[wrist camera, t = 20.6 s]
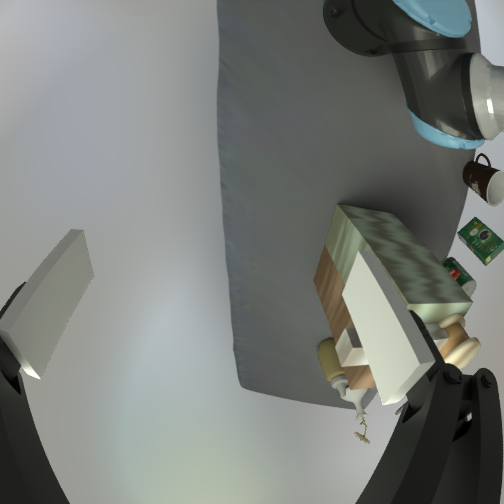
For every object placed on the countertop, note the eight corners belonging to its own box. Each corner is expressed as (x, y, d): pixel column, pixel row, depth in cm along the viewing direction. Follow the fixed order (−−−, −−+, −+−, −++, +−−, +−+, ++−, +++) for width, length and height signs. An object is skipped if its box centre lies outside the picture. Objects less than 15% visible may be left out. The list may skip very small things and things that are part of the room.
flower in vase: (338, 386, 92) (353, 443, 71) (366, 377, 91) (385, 433, 69) (340, 399, 99) (353, 451, 78) (366, 390, 97) (382, 441, 76)
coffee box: (458, 239, 59) (486, 267, 48) (456, 232, 58) (485, 260, 47) (476, 223, 57) (505, 248, 46) (474, 215, 55) (505, 240, 44)
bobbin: (469, 311, 31) (488, 339, 26) (446, 343, 35) (462, 371, 30) (350, 316, 28) (368, 360, 23) (330, 355, 32) (341, 395, 27)
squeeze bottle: (324, 333, 73) (340, 387, 58) (346, 337, 75) (364, 387, 60) (310, 350, 77) (322, 402, 62) (332, 353, 79) (346, 402, 64)
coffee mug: (479, 187, 51) (504, 204, 42) (458, 191, 51) (484, 209, 43) (482, 144, 45) (510, 157, 36) (460, 145, 45) (490, 158, 37)
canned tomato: (452, 275, 66) (471, 299, 57) (433, 282, 67) (452, 307, 57) (458, 253, 62) (479, 277, 52) (438, 260, 62) (459, 285, 53)
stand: (313, 280, 63) (350, 390, 38) (336, 203, 53) (408, 303, 28) (365, 283, 64) (414, 379, 40) (393, 213, 54) (473, 302, 30)
